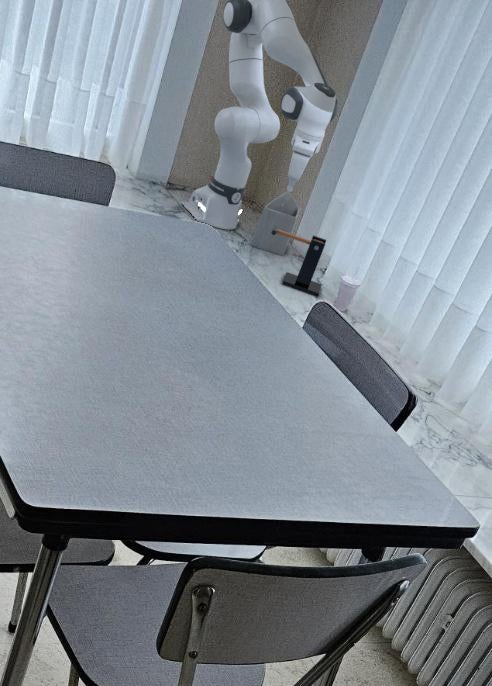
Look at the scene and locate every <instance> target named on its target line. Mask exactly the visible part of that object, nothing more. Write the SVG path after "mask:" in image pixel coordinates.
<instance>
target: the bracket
mask: <svg viewBox="0 0 492 686" xmlns="http://www.w3.org/2000/svg"><path fill="white" fill-rule="evenodd" d="M314 239H316V240H314ZM317 240H319V241H317ZM310 241H311V243H310V245H309V244H308V247H307V250H306V253H305V256H304V258H303V261H302V263H301V266H300V269H299V271H298V274H294V273H292V272H291V273H290V272H288V271H286V272H285V274H284V278H283V281H282V283H281V284H282V285H283V286H285V287H289V288H290V289H291V288H292V289H294V290H297V291H300V292H303V293H305V294H308V295H311V296H314V297H317V298H318V297H319V295H320V292H321V290H322V289H321V288H322V283H319V282H316V281H314V280H313V278H314V274H315V272H316V269H317V268H318V264H319V262H320V259H321V256H322V254H323V252H324V249H325V248H326V247H325V246H326V243H327V239H326V238H323V237H320V236H317V235H312V237H311V240H310ZM320 241H321V242H320ZM322 242H323V243H322Z"/></svg>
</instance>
